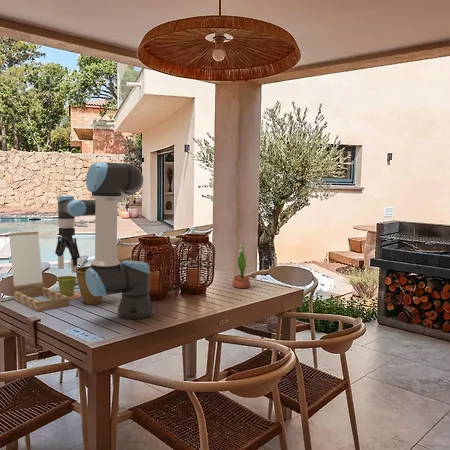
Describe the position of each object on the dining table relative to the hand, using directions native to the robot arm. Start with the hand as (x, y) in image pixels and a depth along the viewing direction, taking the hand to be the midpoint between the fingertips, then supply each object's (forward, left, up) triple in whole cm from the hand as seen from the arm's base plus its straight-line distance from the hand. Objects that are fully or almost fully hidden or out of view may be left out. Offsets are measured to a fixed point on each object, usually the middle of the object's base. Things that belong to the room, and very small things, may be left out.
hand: (67, 270), depth 220 cm
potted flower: (-41, -82, -13) cm, 92 cm away
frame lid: (+14, +14, +6) cm, 20 cm away
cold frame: (-2, +14, -13) cm, 19 cm away
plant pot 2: (-17, -4, -13) cm, 22 cm away
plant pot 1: (+1, 0, -13) cm, 12 cm away
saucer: (0, 0, -13) cm, 13 cm away
